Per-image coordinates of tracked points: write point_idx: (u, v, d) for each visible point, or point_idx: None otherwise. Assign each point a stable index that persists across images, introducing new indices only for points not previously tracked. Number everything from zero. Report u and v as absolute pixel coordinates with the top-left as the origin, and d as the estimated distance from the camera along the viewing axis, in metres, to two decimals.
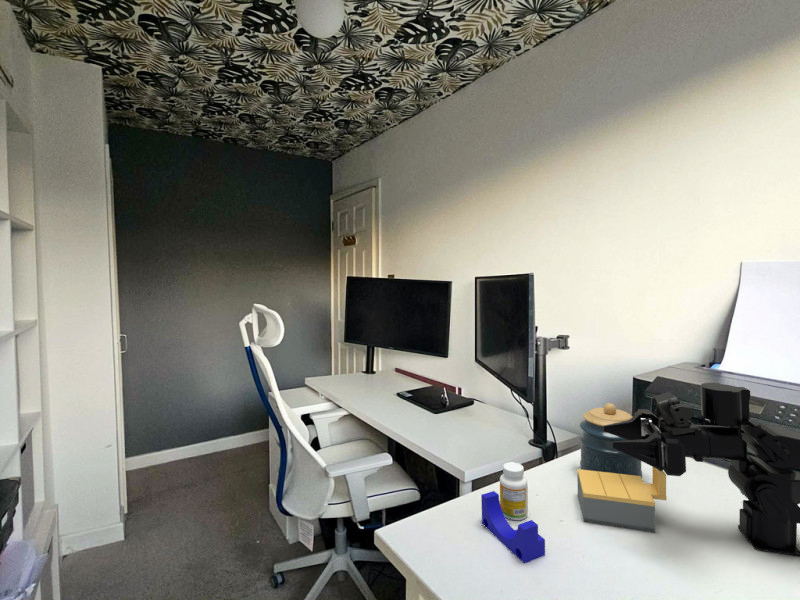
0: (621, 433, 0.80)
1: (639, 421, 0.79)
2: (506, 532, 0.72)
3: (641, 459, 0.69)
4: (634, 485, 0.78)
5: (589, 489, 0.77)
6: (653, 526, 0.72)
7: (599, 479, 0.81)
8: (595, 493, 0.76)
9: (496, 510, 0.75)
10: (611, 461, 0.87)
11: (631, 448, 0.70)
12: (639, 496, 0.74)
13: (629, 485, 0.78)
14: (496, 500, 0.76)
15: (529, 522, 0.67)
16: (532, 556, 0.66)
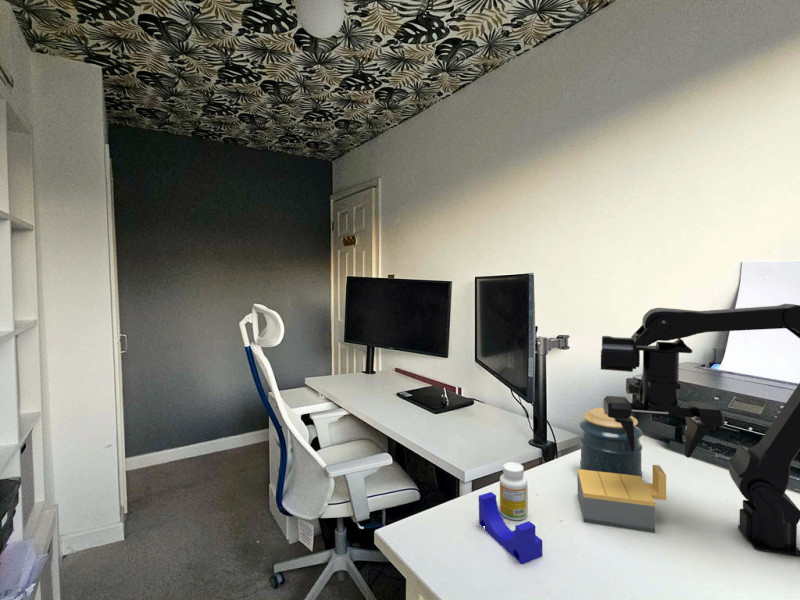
0: (690, 441, 0.73)
1: (687, 419, 0.75)
2: (503, 533, 0.71)
3: (626, 432, 0.76)
4: (634, 485, 0.78)
5: (589, 489, 0.77)
6: (653, 526, 0.72)
7: (599, 479, 0.81)
8: (595, 493, 0.76)
9: (493, 511, 0.75)
10: (611, 461, 0.87)
11: (626, 436, 0.77)
12: (639, 496, 0.74)
13: (629, 485, 0.78)
14: (493, 501, 0.76)
15: (526, 523, 0.67)
16: (529, 557, 0.66)
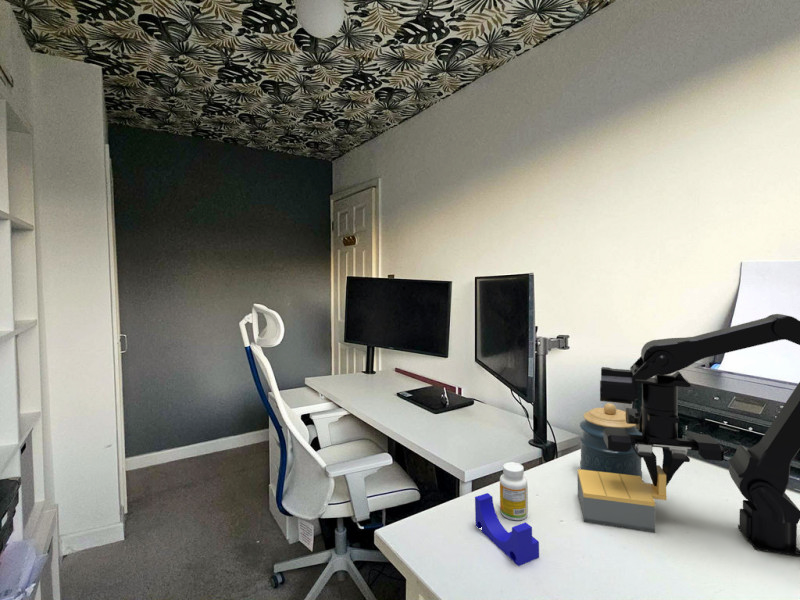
0: (666, 472, 0.75)
1: (664, 449, 0.77)
2: (500, 535, 0.71)
3: (648, 467, 0.75)
4: (634, 485, 0.78)
5: (589, 489, 0.77)
6: (653, 526, 0.72)
7: (599, 479, 0.81)
8: (595, 493, 0.76)
9: (490, 512, 0.75)
10: (612, 461, 0.87)
11: (648, 470, 0.76)
12: (639, 496, 0.74)
13: (629, 485, 0.78)
14: (490, 502, 0.75)
15: (523, 524, 0.67)
16: (526, 559, 0.66)
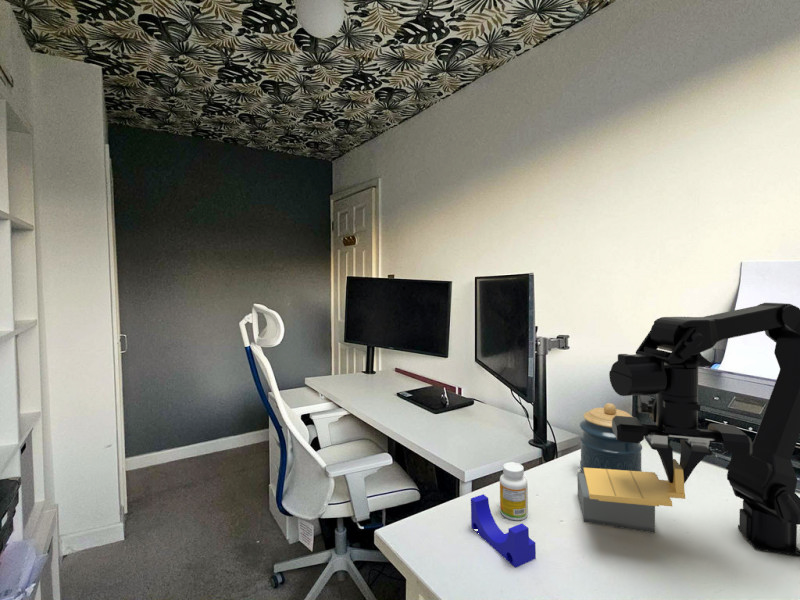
0: (685, 467, 0.65)
1: (682, 441, 0.68)
2: (496, 536, 0.71)
3: (663, 461, 0.66)
4: (648, 483, 0.69)
5: (596, 489, 0.68)
6: (653, 526, 0.72)
7: (608, 478, 0.72)
8: (603, 494, 0.67)
9: (486, 514, 0.74)
10: (612, 461, 0.87)
11: (663, 465, 0.67)
12: (653, 495, 0.65)
13: (642, 483, 0.69)
14: (486, 503, 0.75)
15: (520, 525, 0.66)
16: (522, 560, 0.65)
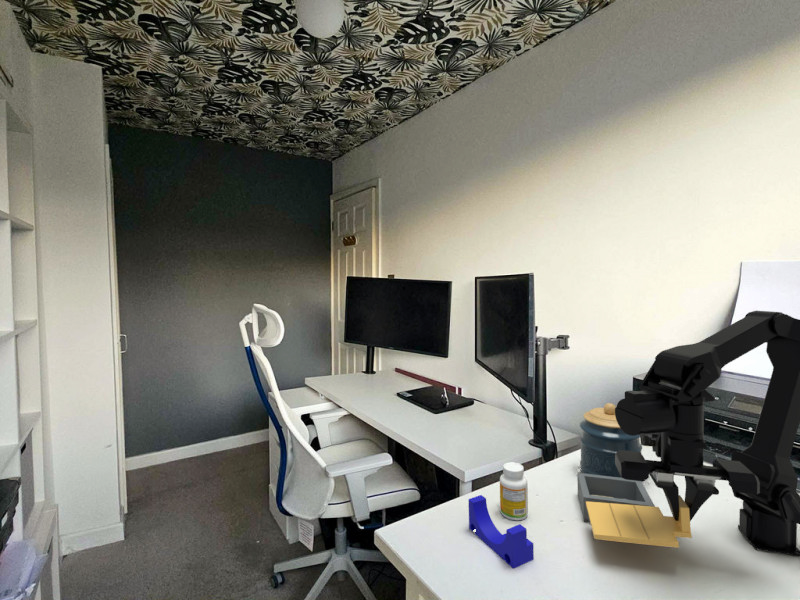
0: (690, 504, 0.64)
1: (687, 477, 0.66)
2: (494, 537, 0.70)
3: (669, 499, 0.64)
4: (652, 520, 0.67)
5: (600, 528, 0.66)
6: None
7: (611, 514, 0.70)
8: (607, 533, 0.65)
9: (483, 514, 0.74)
10: (612, 461, 0.87)
11: (668, 502, 0.66)
12: (659, 535, 0.63)
13: (646, 520, 0.67)
14: (483, 504, 0.75)
15: (517, 526, 0.66)
16: (520, 561, 0.65)
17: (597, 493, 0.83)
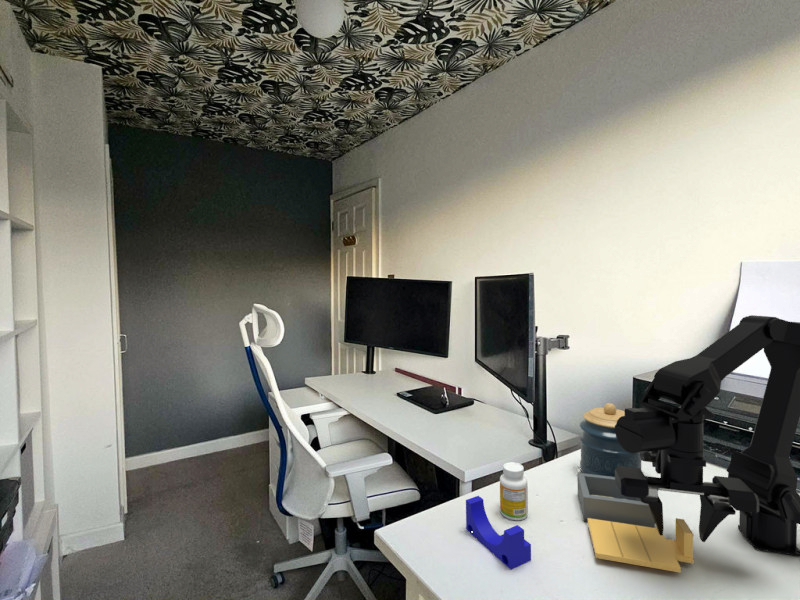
0: (706, 524, 0.63)
1: (702, 495, 0.65)
2: (491, 538, 0.70)
3: (653, 514, 0.65)
4: (654, 543, 0.67)
5: (602, 547, 0.66)
6: (653, 526, 0.72)
7: (613, 533, 0.70)
8: (609, 553, 0.65)
9: (481, 515, 0.74)
10: (612, 461, 0.87)
11: (653, 516, 0.66)
12: (661, 558, 0.63)
13: (648, 542, 0.67)
14: (481, 505, 0.74)
15: (515, 527, 0.66)
16: (518, 562, 0.65)
17: (597, 493, 0.83)
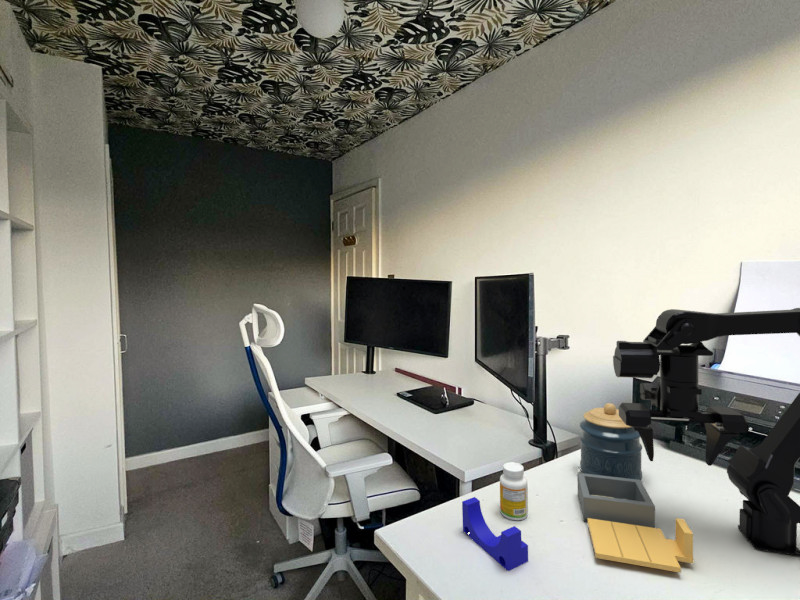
0: (712, 449, 0.70)
1: (707, 425, 0.72)
2: (488, 539, 0.70)
3: (645, 441, 0.72)
4: (654, 543, 0.67)
5: (602, 547, 0.66)
6: (653, 526, 0.72)
7: (613, 533, 0.70)
8: (609, 553, 0.65)
9: (477, 517, 0.73)
10: (612, 461, 0.87)
11: (644, 444, 0.74)
12: (661, 558, 0.63)
13: (648, 542, 0.67)
14: (477, 506, 0.74)
15: (512, 528, 0.66)
16: (515, 563, 0.65)
17: (597, 493, 0.83)
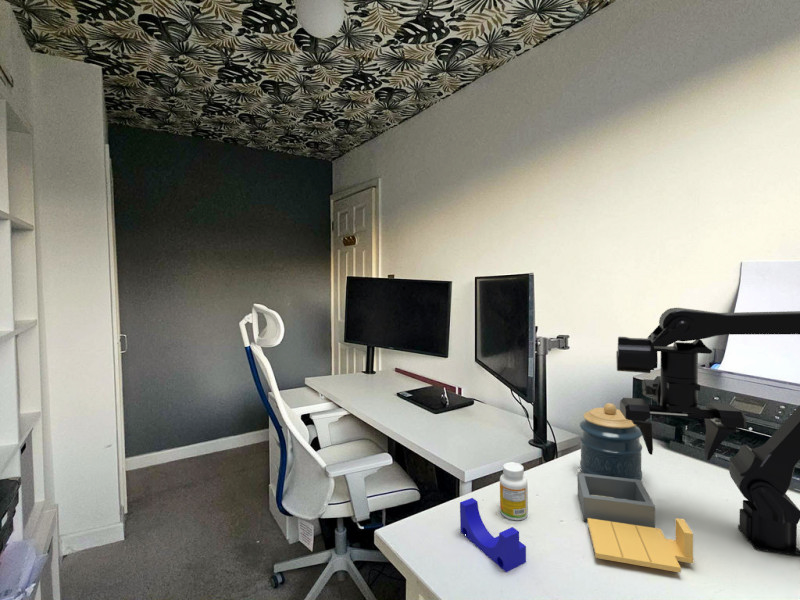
0: (710, 443, 0.72)
1: (707, 421, 0.74)
2: (486, 540, 0.70)
3: (644, 434, 0.74)
4: (654, 543, 0.67)
5: (602, 547, 0.66)
6: (653, 526, 0.72)
7: (613, 533, 0.70)
8: (609, 553, 0.65)
9: (475, 518, 0.73)
10: (612, 461, 0.87)
11: (644, 438, 0.76)
12: (661, 558, 0.63)
13: (648, 542, 0.67)
14: (475, 507, 0.74)
15: (510, 529, 0.65)
16: (513, 564, 0.65)
17: (597, 493, 0.83)
